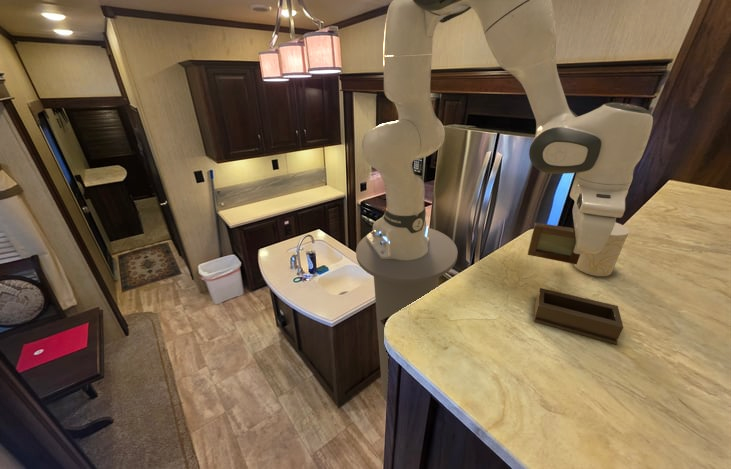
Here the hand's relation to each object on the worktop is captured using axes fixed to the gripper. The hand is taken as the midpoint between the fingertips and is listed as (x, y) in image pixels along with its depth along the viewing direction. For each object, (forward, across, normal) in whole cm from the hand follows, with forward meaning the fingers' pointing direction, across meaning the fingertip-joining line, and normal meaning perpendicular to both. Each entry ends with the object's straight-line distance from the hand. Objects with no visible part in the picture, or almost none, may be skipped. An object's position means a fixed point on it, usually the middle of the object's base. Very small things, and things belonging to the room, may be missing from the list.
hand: (577, 248), depth 65 cm
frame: (+4, 0, -4) cm, 6 cm away
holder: (+11, +11, +1) cm, 16 cm away
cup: (+11, -12, +7) cm, 18 cm away
